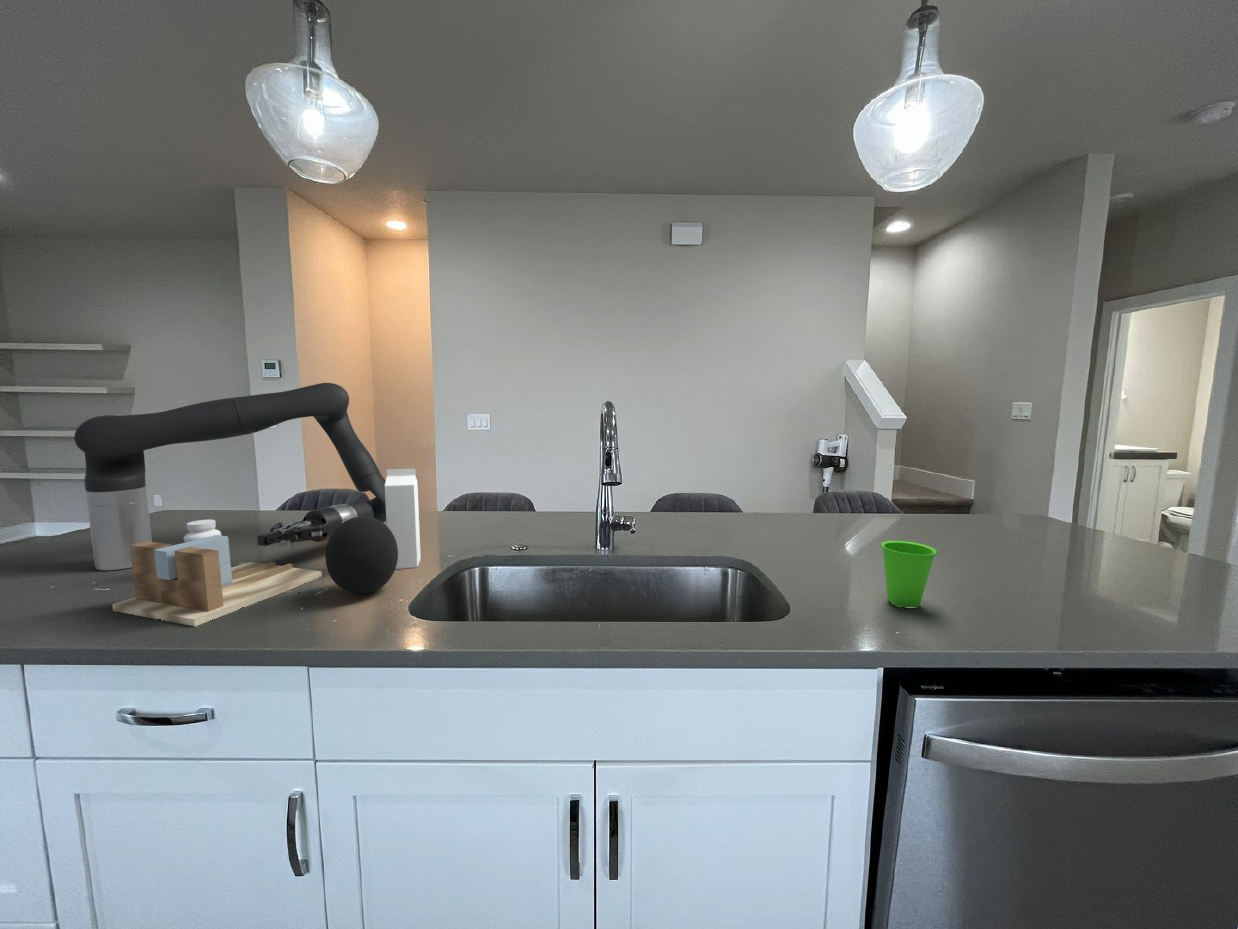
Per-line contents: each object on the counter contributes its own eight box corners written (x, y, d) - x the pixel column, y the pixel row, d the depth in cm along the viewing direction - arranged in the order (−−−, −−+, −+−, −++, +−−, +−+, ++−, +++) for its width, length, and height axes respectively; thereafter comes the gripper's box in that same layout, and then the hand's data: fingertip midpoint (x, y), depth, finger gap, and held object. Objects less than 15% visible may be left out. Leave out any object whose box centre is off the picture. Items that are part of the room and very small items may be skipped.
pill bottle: (225, 565, 109) (220, 517, 107) (225, 572, 104) (220, 522, 103) (188, 570, 105) (182, 521, 104) (186, 579, 100) (181, 527, 99)
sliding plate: (160, 605, 84) (154, 550, 83) (221, 585, 94) (216, 535, 92) (172, 607, 83) (166, 551, 82) (232, 586, 93) (228, 536, 92)
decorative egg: (365, 609, 86) (360, 527, 85) (312, 600, 90) (306, 521, 88) (413, 584, 98) (410, 512, 96) (364, 578, 102) (360, 508, 100)
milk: (417, 568, 108) (413, 470, 106) (388, 570, 107) (383, 471, 104) (420, 559, 114) (417, 466, 111) (392, 561, 113) (388, 467, 110)
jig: (113, 610, 85) (105, 548, 83) (250, 567, 108) (246, 517, 106) (195, 626, 79) (188, 560, 78) (321, 576, 102) (318, 525, 101)
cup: (924, 598, 94) (929, 543, 93) (938, 617, 86) (943, 557, 84) (872, 591, 97) (877, 538, 96) (881, 609, 89) (885, 551, 87)
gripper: (308, 504, 117) (234, 520, 101) (353, 508, 113) (283, 526, 97) (310, 534, 118) (237, 555, 102) (354, 539, 114) (286, 562, 98)
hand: (260, 541), depth 99 cm, fingers closed
